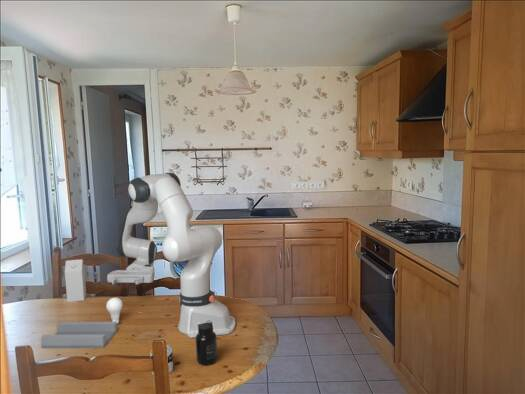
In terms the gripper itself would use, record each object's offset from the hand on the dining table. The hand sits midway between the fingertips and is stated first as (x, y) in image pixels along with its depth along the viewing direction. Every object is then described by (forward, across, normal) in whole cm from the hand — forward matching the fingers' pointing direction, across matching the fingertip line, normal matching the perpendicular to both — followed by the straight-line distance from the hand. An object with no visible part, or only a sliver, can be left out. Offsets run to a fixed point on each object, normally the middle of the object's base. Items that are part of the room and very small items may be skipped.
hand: (124, 283), depth 159 cm
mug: (+42, +28, +12) cm, 53 cm away
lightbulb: (+12, 0, +13) cm, 18 cm away
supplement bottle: (+38, +41, +12) cm, 58 cm away
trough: (+24, -8, +12) cm, 29 cm away
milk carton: (-14, -28, +14) cm, 34 cm away
